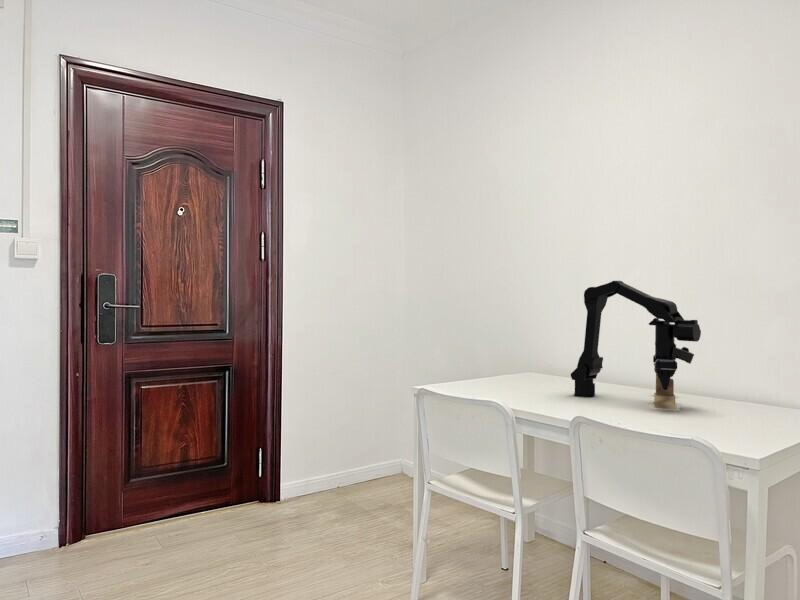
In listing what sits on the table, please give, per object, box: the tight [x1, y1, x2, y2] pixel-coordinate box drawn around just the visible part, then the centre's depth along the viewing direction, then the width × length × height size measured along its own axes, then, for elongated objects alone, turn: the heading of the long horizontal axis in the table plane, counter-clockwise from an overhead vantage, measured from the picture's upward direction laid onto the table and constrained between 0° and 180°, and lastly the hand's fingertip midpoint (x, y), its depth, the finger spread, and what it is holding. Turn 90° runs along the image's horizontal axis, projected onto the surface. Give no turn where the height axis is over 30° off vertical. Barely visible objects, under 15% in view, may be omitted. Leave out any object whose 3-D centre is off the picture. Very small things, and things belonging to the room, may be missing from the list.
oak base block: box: [653, 392, 676, 410], centre depth 197 cm, size 6×6×4 cm
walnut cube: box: [655, 377, 675, 396], centre depth 197 cm, size 5×5×5 cm
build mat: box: [648, 403, 682, 412], centre depth 200 cm, size 22×15×1 cm
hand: (664, 387), depth 197 cm, fingers open, 9 cm apart
